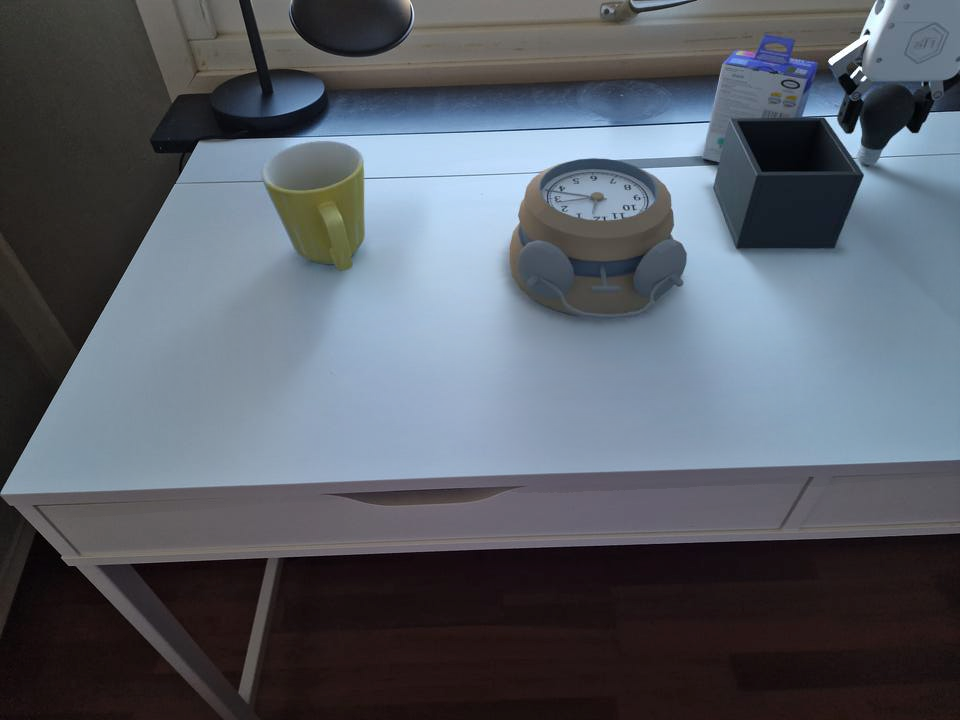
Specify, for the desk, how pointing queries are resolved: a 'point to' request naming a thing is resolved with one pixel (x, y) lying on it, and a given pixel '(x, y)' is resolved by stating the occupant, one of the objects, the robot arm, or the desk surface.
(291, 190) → the mug
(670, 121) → the desk surface
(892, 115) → the light bulb
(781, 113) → the ink cartridge box
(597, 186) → the alarm clock
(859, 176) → the trash bin
